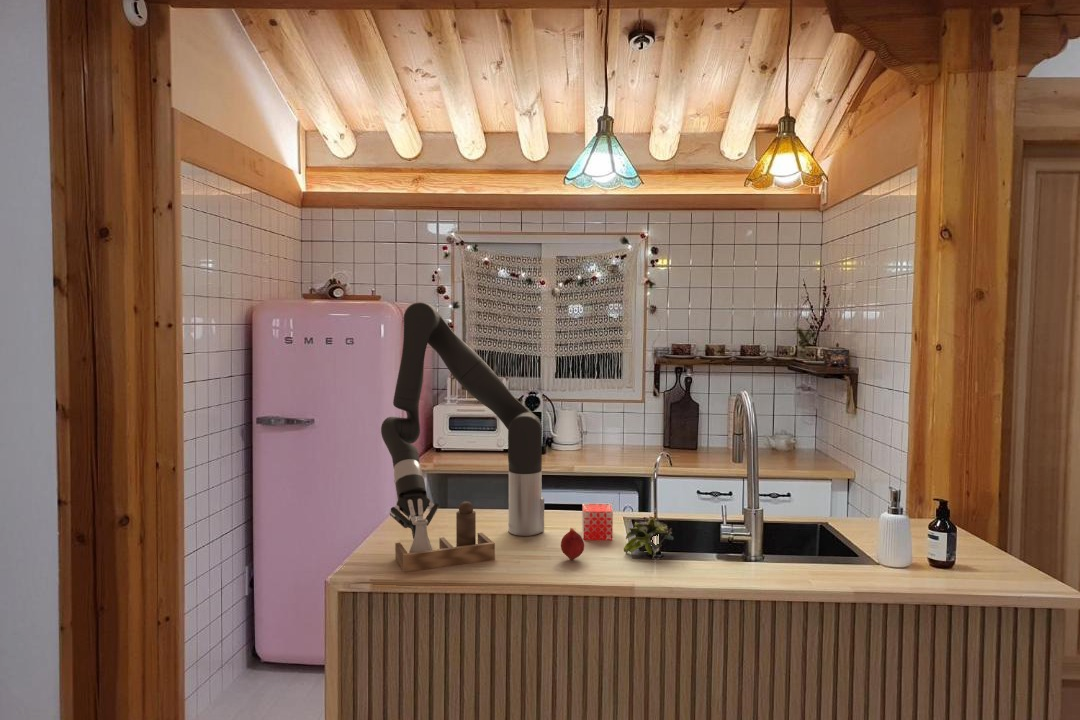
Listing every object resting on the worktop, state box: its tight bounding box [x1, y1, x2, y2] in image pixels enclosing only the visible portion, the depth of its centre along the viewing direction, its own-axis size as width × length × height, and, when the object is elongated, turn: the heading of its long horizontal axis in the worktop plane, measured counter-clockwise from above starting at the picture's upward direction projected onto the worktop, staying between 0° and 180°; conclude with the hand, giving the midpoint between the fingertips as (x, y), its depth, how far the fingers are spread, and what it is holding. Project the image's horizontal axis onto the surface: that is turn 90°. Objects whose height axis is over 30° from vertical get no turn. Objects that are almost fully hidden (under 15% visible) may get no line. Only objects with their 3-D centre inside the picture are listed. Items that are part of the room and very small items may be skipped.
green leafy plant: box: [623, 516, 674, 560], centre depth 177 cm, size 11×11×12 cm
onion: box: [560, 527, 585, 561], centre depth 172 cm, size 6×6×8 cm
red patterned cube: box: [581, 503, 614, 541], centre depth 192 cm, size 8×8×8 cm
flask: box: [408, 518, 434, 553], centre depth 171 cm, size 7×7×10 cm
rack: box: [394, 532, 496, 573], centre depth 173 cm, size 23×10×4 cm, turn 114°
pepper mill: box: [455, 500, 477, 547], centre depth 175 cm, size 5×5×14 cm
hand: (419, 540), depth 173 cm, fingers closed
